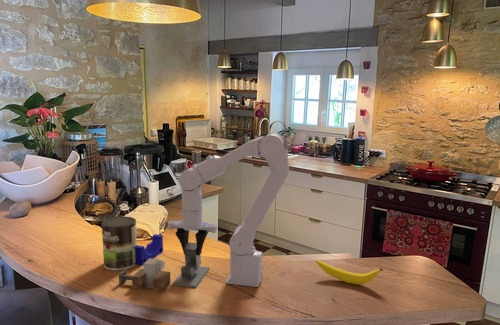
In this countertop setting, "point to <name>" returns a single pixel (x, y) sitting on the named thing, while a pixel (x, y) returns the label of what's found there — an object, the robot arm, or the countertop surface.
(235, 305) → the countertop surface
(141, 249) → the blue cradle bracket
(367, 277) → the banana
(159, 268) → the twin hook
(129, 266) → the coffee can
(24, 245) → the countertop surface
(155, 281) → the vise
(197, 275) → the pad
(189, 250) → the gray stepped bracket
